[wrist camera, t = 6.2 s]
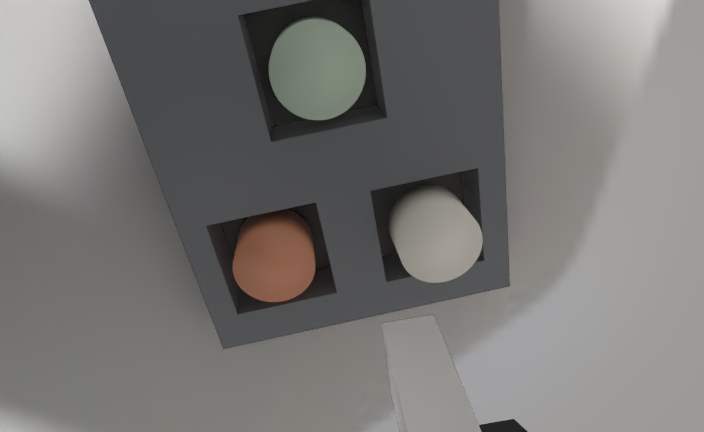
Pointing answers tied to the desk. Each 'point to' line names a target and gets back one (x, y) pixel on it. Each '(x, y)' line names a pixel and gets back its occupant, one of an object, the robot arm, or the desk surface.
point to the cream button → (434, 234)
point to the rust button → (274, 256)
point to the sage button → (316, 68)
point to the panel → (315, 148)
